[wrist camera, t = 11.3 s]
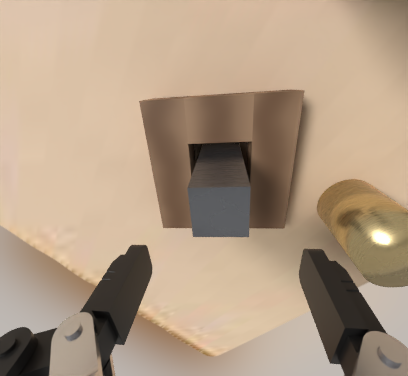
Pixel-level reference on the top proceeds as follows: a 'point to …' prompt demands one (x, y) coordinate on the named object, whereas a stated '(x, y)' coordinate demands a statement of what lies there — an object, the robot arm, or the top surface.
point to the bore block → (220, 133)
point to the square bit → (220, 192)
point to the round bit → (368, 230)
